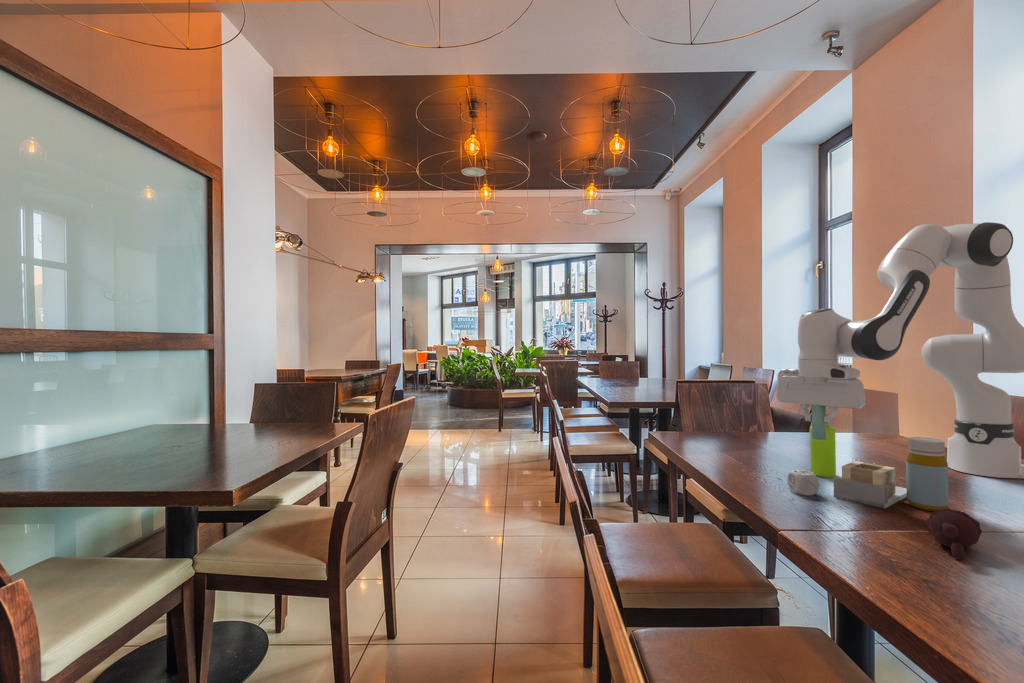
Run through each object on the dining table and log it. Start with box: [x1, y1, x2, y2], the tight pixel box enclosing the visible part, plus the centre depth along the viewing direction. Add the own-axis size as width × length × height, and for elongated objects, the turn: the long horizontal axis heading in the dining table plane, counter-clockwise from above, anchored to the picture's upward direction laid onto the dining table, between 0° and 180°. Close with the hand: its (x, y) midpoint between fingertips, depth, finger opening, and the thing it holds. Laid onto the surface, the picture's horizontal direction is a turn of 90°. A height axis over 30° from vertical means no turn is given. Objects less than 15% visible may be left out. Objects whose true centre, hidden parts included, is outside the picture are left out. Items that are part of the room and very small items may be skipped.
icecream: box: [925, 507, 983, 560], centre depth 85 cm, size 7×7×15 cm
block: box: [841, 460, 896, 497], centre depth 112 cm, size 8×8×6 cm
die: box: [786, 469, 820, 497], centre depth 117 cm, size 5×5×5 cm
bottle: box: [905, 436, 949, 512], centre depth 106 cm, size 7×7×15 cm
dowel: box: [810, 405, 827, 440], centre depth 125 cm, size 3×3×9 cm
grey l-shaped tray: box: [833, 476, 907, 509], centre depth 114 cm, size 18×10×4 cm, turn 124°
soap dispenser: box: [809, 413, 837, 478], centre depth 132 cm, size 6×7×20 cm
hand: (818, 422), depth 125 cm, fingers closed on dowel, 3 cm apart
